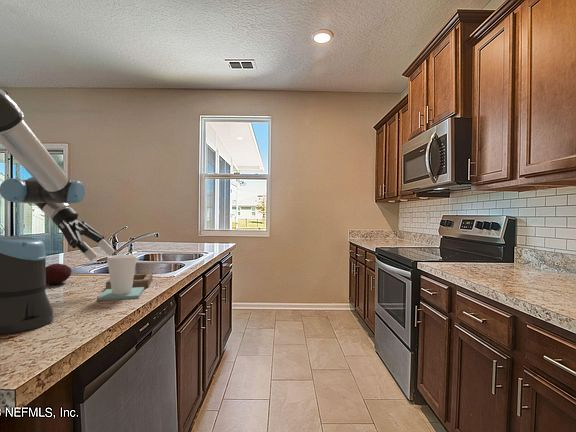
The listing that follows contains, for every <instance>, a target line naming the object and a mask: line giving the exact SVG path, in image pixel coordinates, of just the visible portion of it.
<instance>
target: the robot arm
mask: <svg viewBox="0 0 576 432" xmlns="http://www.w3.org/2000/svg"><path fill="white" fill-rule="evenodd" d="M0 144H1V145H2V146H3V147H4V148H5V149H6V150H7V151H8V152H9V154H11V156H12V157H13V158H14V159H15V160H16V161H17V162H18V163H19V164H20V166H22V167H23V168H24V169H25V170H26V172H27V173H28V174H29V175H30V176H31V177H29V178H27V179H21V178H19V177H18V178H15V177H14V178H13V177H12V178H11V177H10V178H7V179H5V180H3V181H2V182H1V184H0V196H1V198H2V199H4V200H5V201H8V202H11V203H12V202H13V203H19V204H21V203H22V204H23V203H24V204H34V205H35V206H36V207H38V208H39V210H41V212H43V213H44V214H45V217H47V218H49V219H50V220H51V221H52V222H53V223H54V224H55V226H57V228H58V229H59V230H60V231H61V232H62V234H63V236H64V238H65V240H66V241H67V243H68V245H69V246H70V247H71V248H72V249H76V248H77V249H78V250H79V251H80V252H81V253H82V254H83V255H84V256H85V257H86V258H87V259H88V260H89V261H90V262H91V261H93V260H94V259H96V258H97V257H98V254H97V252H95V251H94V250H93V249H92V247H90V246H89V245H88V243H86V242H85V241H82V238H81V236H85V237H87V238H88V239H90V240H91V241H93V242H95V243H96V245H97V246H98V247H100V249H102V250H103V252H104V253H105V254H107V256H113V254H114V253H115V252H116V250H115V249H114V248H113V246H111V245H110V244H109V243H108V242H107V240H105V239H106V236H105V235H103V234H101V233H100V231H97V230H96V229H95V228H93V227H92V226H90V225H89V224H88V223H87V222H86V221H85V220H82V221H79V220H78V217H79V213H78V212H77V211H76V210H75V209H74V208H72V207H71V205H70V204H77V203H78V204H79V203H81V202H83V201H84V199H85V195H86V188H85V185H84V183H83V182H82V181H80V180H74V179H72V180H71V179H70V178H69V177H68V176H67V175H66V173H65V172H64V170H63V169H62V168H61V167H60V165H59V164H58V163H57V161H56V160H55V159H54V157H52V155H51V154H50V153H49V151H48V150H47V149H46V148H45V146H44V145H43V143H42V142H41V141H40V139H39V138H38V137H37V136H36V135H35V133H34V132H33V131H32V129H31V128H30V127H29V126H28V123H26V122H25V120H24V113H23V111H22V110H21V108H20V107H19V106H18V104H17V103H16V101H14V100H13V98H11V96H9V94H7V93H6V92H5V91H4V90H3V89H2V88H0ZM46 253H47V252H46V245H45V243H44V241H43V240H42V239H38V238H34V237H29V236H18V235H16V236H15V235H0V335H7V334H14V333H21V332H26V331H29V330H30V331H31V330H34V329H38V328H40V327H44V326H45V325H47V324H50V323H52V322H53V320H54V310H53V309H54V308H53V306H52V305H51V302H50V299H49V298H48V295H47V293H46V292H47V291H46V285H47V284H46V267H47V265H46V263H47V262H46V261H47V254H46Z"/></svg>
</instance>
